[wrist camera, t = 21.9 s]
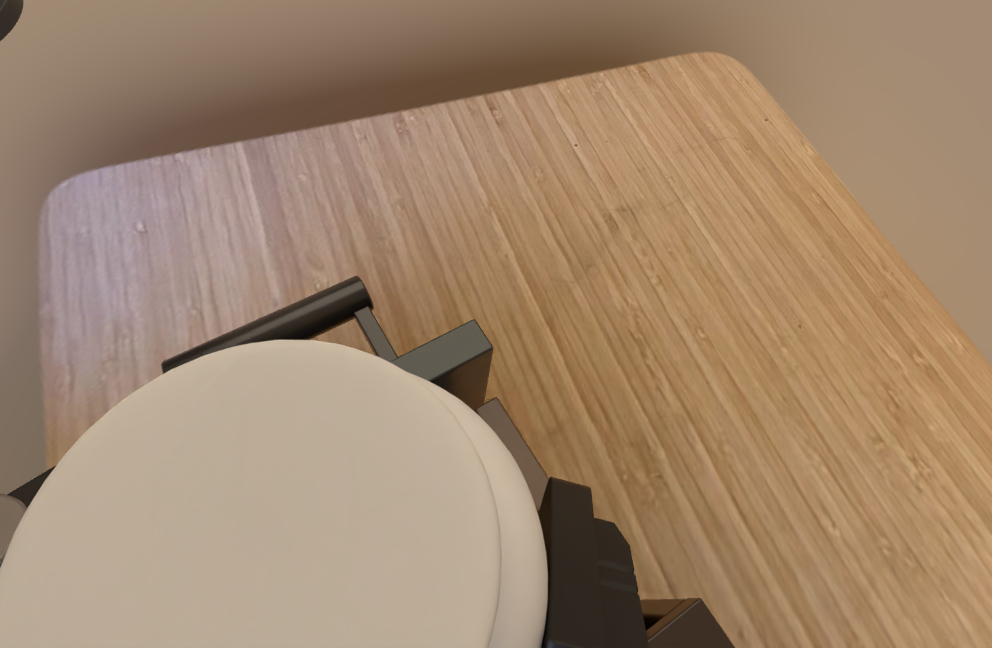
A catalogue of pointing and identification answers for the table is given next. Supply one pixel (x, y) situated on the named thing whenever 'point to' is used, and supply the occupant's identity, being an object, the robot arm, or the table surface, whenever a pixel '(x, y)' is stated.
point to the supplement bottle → (280, 516)
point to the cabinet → (682, 624)
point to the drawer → (393, 358)
